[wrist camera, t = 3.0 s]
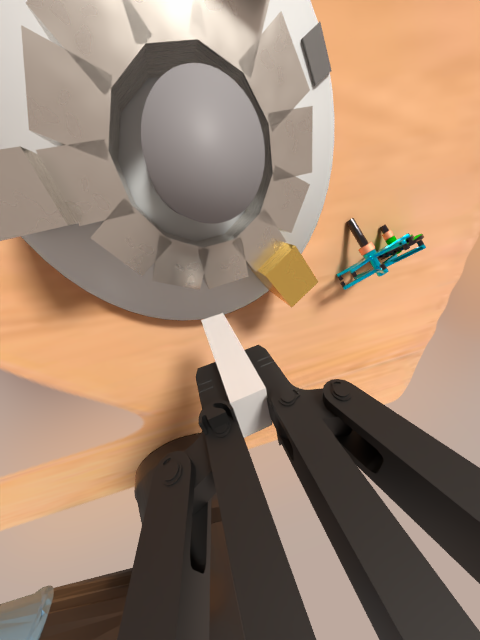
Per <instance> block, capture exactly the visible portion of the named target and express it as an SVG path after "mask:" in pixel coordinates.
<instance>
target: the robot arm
mask: <svg viewBox="0 0 480 640" xmlns="http://www.w3.org/2000/svg"><path fill="white" fill-rule="evenodd" d="M201 321H202V324H203V327H204V330H205V333H206V336H207V339H208V341H209V344H210V347H211V350H212V353H213V356H214V359H215V361H216V362H214V363H211V364H209V365H206V366H204V367H201V368H198V370H197V374H196V381H197V386H198V391H199V396H200V401H201V405H202V411H201V413H200V416H199V425H200V427H201V429H202V433H201V434H196V435H190V436H186V437H182V438H179V439H177V440H174V441H172V442H169V443H167V444H165V445H163V446H161V447H160V448H158V449H157V450H155V451H154V452H152V453H151V454H150V455H149V456H148V457H146V458H145V459H144V461H143V462H142V463H141V464H140V466H139V467H138V469H137V472H136V479H135V498H136V500H137V502H138V507H139V512H140V517H141V522H142V529H141V533H140V538H139V543H138V547H137V551H136V556H135V560H134V565H133V568H130V569H126V570H123V571H119V572H115V573H111V574H107V575H103V576H99V577H95V578H91V579H87V580H83V581H80V582H76V583H72V584H68V585H64V586H60V587H56V588H53V587H52V586H46V587H43V588H42V589H40V590H38V591H37V592H36V593H35V594H32V595H28V596H25V597H22V598H19V599H16V600H12V601H9V602H6V603H3V604H0V640H316V638H315V635H314V632H313V629H312V626H311V624H310V621H309V618H308V616H307V613H306V610H305V607H304V604H303V601H302V599H301V596H300V593H299V590H298V588H297V585H296V582H295V579H294V576H293V574H292V571H291V568H290V565H289V563H288V560H287V557H286V554H285V551H284V549H283V546H282V543H281V540H280V537H279V535H278V532H277V529H276V526H275V524H274V521H273V518H272V515H271V512H270V510H269V507H268V504H267V501H266V498H265V496H264V493H263V490H262V488H261V484H260V482H259V479H258V476H257V473H256V471H255V468H254V465H253V462H252V459H251V457H250V454H249V451H248V448H247V446H246V443H245V440H244V438H245V437H247V436H249V435H251V434H253V433H255V432H257V431H260V430H262V429H264V428H266V427H268V426H270V425H272V422H273V424H274V426H275V428H276V431H277V437H278V441H279V445H281V444H282V446H283V448H284V450H285V451H286V454H287V456H288V457H289V460H290V462H291V464H292V466H293V467H294V470H295V471H296V474H297V476H298V478H299V479H300V481H301V484H302V485H303V487H304V489H305V492H306V494H307V496H308V498H309V500H310V502H311V504H312V506H313V508H314V510H315V512H316V514H317V516H318V518H319V520H320V522H321V523H322V526H323V528H324V530H325V532H326V534H327V536H328V538H329V539H330V542H331V544H332V546H333V547H334V549H335V551H336V554H337V556H338V558H339V559H340V562H341V564H342V566H343V568H344V569H345V572H346V574H347V576H348V578H349V580H350V582H351V584H352V585H353V588H354V589H355V592H356V593H357V595H358V598H359V600H360V601H361V604H362V605H363V608H364V610H365V611H366V614H367V616H368V618H369V619H370V621H371V623H372V626H373V627H374V630H375V631H376V634H377V635H378V638H379V640H480V632H479V630H478V629H477V627H476V626H475V625H474V623H473V622H472V621H471V619H470V618H469V617H468V615H467V614H466V613H465V611H464V610H463V609H462V607H461V606H460V604H459V603H458V602H457V600H456V599H455V598H454V596H453V595H452V594H451V593H450V591H449V590H448V588H447V587H446V586H445V584H444V583H443V582H442V580H441V579H440V578H439V576H438V575H437V574H436V572H435V571H434V569H433V568H432V567H431V565H430V564H429V563H428V561H427V560H426V559H425V557H424V556H423V555H422V553H421V552H420V551H419V549H418V548H417V547H416V545H415V544H414V543H413V541H412V540H411V539H410V537H409V536H408V534H407V533H406V532H405V530H404V529H403V528H402V526H401V525H400V524H399V522H398V521H397V520H396V518H395V517H394V516H393V514H392V513H391V512H390V510H389V509H388V507H387V506H386V505H385V503H384V502H383V501H382V499H381V498H380V497H379V495H378V494H377V493H376V491H375V490H374V489H373V487H372V486H371V485H370V483H369V482H368V481H367V479H366V478H365V476H364V475H363V474H362V473H361V471H360V470H359V468H360V469H361V470H362V471H363V472H364V473H365V474H366V475H367V476H368V477H369V478H370V479H371V480H372V481H373V482H374V483H375V484H376V485H378V486H379V487H380V488H381V489H382V490H383V491H384V492H385V493H386V494H387V495H388V496H389V497H390V498H391V499H392V500H393V501H394V502H395V503H396V504H397V505H398V506H399V507H400V508H402V509H403V511H405V512H406V513H407V514H408V515H409V516H410V517H411V518H412V519H413V520H414V521H415V522H416V523H417V524H418V525H419V526H420V527H421V528H422V529H423V530H425V532H426V533H427V534H428V535H430V536H431V537H432V538H433V539H434V540H435V541H436V542H437V543H438V544H439V545H440V546H441V547H442V548H443V549H444V550H445V551H446V552H447V553H448V554H449V555H450V556H451V557H452V558H453V559H454V560H456V561H457V562H458V563H459V564H460V565H461V566H462V567H463V568H464V569H465V570H466V571H467V572H468V573H469V574H470V575H471V576H472V577H473V578H474V579H475V580H476V581H477V582H479V584H480V468H479V467H477V466H476V465H474V464H473V463H471V462H470V461H468V460H467V459H465V458H464V457H462V456H461V455H459V454H457V453H456V452H455V451H453V450H452V449H450V448H449V447H447V446H445V445H444V444H442V443H441V442H439V441H438V440H436V439H435V438H433V437H432V436H430V435H429V434H427V433H426V432H424V431H423V430H421V429H419V428H418V427H417V426H415V425H414V424H412V423H411V422H409V421H408V420H406V419H405V418H403V417H402V416H400V415H398V414H397V413H395V412H394V411H392V410H391V409H389V408H388V407H386V406H385V405H383V404H382V403H380V402H379V401H377V400H376V399H374V398H373V397H371V396H370V395H368V394H367V393H365V392H364V391H362V390H361V389H359V388H357V387H356V386H354V385H353V384H351V383H349V382H347V381H345V380H340V379H334V380H330V381H328V382H327V383H326V384H325V385H324V388H323V389H313V390H303V389H299V388H297V387H295V386H293V385H292V384H291V383H290V382H289V381H288V380H287V378H286V377H285V375H284V374H283V373H282V371H281V370H280V368H279V367H278V366H277V364H276V363H275V362H274V360H273V359H272V357H271V356H270V354H269V353H268V352H267V350H266V349H265V348H263V347H261V346H259V345H257V346H254V347H251V348H249V349H246V350H244V349H243V347H242V345H241V344H240V342H239V340H238V338H237V337H236V335H235V333H234V331H233V329H232V328H231V326H230V324H229V322H228V321H227V319H226V317H225V315H224V314H223V313H221V314H218V315H215V316H212V317H209V318H206V319H203V320H201ZM356 465H357V466H358V467H359V468H358V467H357V466H356Z"/></svg>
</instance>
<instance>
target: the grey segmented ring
mask: <svg viewBox="0 0 480 640" xmlns="http://www.w3.org/2000/svg"><path fill="white" fill-rule="evenodd" d="M269 1H270V0H27V2H26V4H27V6H28V8H29V9H30V11H31V12H32V14H33V15H34V17H35V18H36V20H37V21H38V23H39V24H40V26H41V27H42V29H43V31H44V32H45V34H46V35H47V37H48V38H49V40H50V41H49V40H48V39H46V38H44V37H42V36H40V35H38V34H37V33H35V32H33V31H31V30H29V29H28V28H26V27H24V26H22V25H21V31H22V45H23V58H24V71H25V84H26V98H27V111H28V124H29V130H30V131H31V132H33V133H35V134H37V135H38V136H40V137H42V138H43V139H45V140H47V141H49V142H50V143H52V144H54V145H55V146H57V147H51V148H45V149H38V150H36V152H37V153H38V154H37V153H34V152H32V151H30V150H27V149H25V148H23V147H20V146H19V147H13V148H6V149H0V241H2V240H7V239H11V238H15V237H20V236H24V235H29V234H33V233H37V232H42V231H46V230H51V229H55V228H59V227H64V226H68V225H72V224H77V223H78V224H79V226H82V225H87V224H91V223H95V222H100V221H104V220H105V221H104V222H103V223H102V224H101V226H100V227H99V228H98V229H97V230H96V232H95V233H94V234H93V235H92V236H91V239H92V240H94V241H95V242H96V243H98V244H99V245H100V246H102V247H103V248H104V249H106V250H107V251H108V252H110V253H111V254H112V255H114V256H115V257H117V258H118V259H119V260H121V261H122V262H123V263H125V264H126V265H127V266H129V267H130V268H131V269H133V270H134V271H135V272H137V273H138V274H139V275H141V276H143V275H144V273H145V272H146V271H147V270H148V269H149V268H150V267H151V266H152V265H153V263H154V268H153V280H152V281H156V282H161V283H166V284H171V285H177V286H182V287H187V288H193V289H198V290H200V287H201V283H202V279H203V280H204V282H205V284H206V285H207V287H208V288H209V289H211V288H215V287H218V286H221V285H224V284H227V283H230V282H233V281H236V280H239V279H243V278H246V277H249V276H248V270H247V266H248V267H249V268H250V269H251V270H252V272H253V273H254V274H255V275H256V276H257V277H258V279H259V280H260V281H261V282H262V283H263V284H264V285H265V287H266V288H267V289H268V290H269V291H271V292H272V293H273V294H275V295H276V296H277V297H279V298H280V299H281V300H283V301H284V302H285V303H286V304H288V305H289V306H290V307H293V306H294V305H295V304H296V303H297V302H298V301H299V300H300V299H301V298H302V297H303V296H304V295H305V294H306V293H307V292H308V291H309V290H310V289H311V288H313V287H314V286H315V285H316V284H317V283H318V281H317V279H316V277H315V276H314V274H313V273H312V271H311V269H310V268H309V266H308V265H307V263H306V261H305V260H304V258H303V257H302V255H301V253H300V252H299V250H298V249H297V247H296V246H295V245H291V244H288V243H285V242H286V240H285V238H284V237H283V235H282V234H281V232H280V231H285V232H289V233H292V230H293V228H294V225H295V223H296V220H297V217H298V215H299V212H300V209H301V207H302V204H303V202H304V199H305V196H306V194H307V191H308V188H309V186H310V184H308V183H306V182H305V181H303V180H301V179H299V178H297V177H296V176H299V175H303V174H308V173H312V128H313V106H308V107H302V108H296V109H294V107H295V106H296V105H297V104H298V103H299V102H300V101H301V100H302V99H303V97H304V96H305V95H306V94H307V93H308V92H309V91H310V89H309V86H308V83H307V80H306V78H305V75H304V72H303V69H302V67H301V64H300V61H299V58H298V55H297V53H296V50H295V47H294V44H293V42H292V39H291V36H290V33H289V31H288V28H287V25H286V22H285V20H284V17H283V14H282V11H281V12H280V13H279V14H278V15H277V16H276V18H275V19H274V20H273V21H272V22H271V23H270V25H269V26H268V27H267V28H266V29H265V31H264V32H263V33H262V30H263V26H264V22H265V18H266V14H267V10H268V6H269ZM187 63H201V64H206V65H210V66H212V67H215V68H217V69H219V70H221V71H222V72H224V73H226V74H227V75H228V76H229V77H231V78H232V79H233V80H234V81H235V82H236V83H237V84H238V85H239V86H240V87H241V88H242V90H243V91H244V92H245V94H246V95H247V96H248V98H249V100H250V101H251V103H252V105H253V107H254V109H255V111H256V113H257V116H258V119H259V122H260V125H261V129H262V133H263V138H264V146H265V164H264V171H263V176H262V180H261V183H260V186H259V189H258V191H257V193H256V195H255V197H254V199H253V200H252V202H251V203H250V204H249V206H248V207H247V208H246V210H245V212H244V214H243V215H242V216H241V217H240V218H239V219H238V220H237V221H236V222H235V223H234V224H233V225H232V226H231V227H230V229H229V230H228V231H227V232H226V233H225V234H222V235H219V236H215V237H211V238H208V239H204V240H200V241H193V240H190V239H186V238H183V237H179V236H176V235H173V234H169V233H166V232H164V231H163V230H162V229H161V228H160V227H159V226H158V225H157V224H156V223H155V222H154V221H153V220H151V219H150V218H149V217H148V216H147V215H146V214H145V213H144V212H143V211H142V210H141V209H140V208H139V207H138V206H137V205H136V204H135V201H134V199H133V196H132V194H131V192H130V189H129V187H128V184H127V182H126V180H125V177H124V175H123V172H122V170H121V167H120V165H119V163H118V152H119V136H120V120H121V112H122V111H123V109H124V108H125V107H126V106H127V104H128V103H129V102H130V100H131V99H132V98H133V97H134V95H135V94H136V93H137V92H138V90H139V89H140V88H141V87H142V85H143V84H144V83H145V82H146V80H147V79H148V78H153V77H161V76H162V75H163V74H164V73H166V72H167V71H169V70H170V69H172V68H174V67H176V66H179V65H182V64H187ZM279 230H280V231H279Z"/></svg>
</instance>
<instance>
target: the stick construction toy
mask: <svg viewBox="0 0 480 640" xmlns="http://www.w3.org/2000/svg"><path fill="white" fill-rule="evenodd" d="M346 223H347V225H348V227H349V228H350V230H351V232H352V233H353V235H354V237H355V238H356V240H357V242H358V243H359V245H360V247H361V248H360V249H359V252H360V253H361V255H363V257H364V258H365V259H363V260H361V261H359V262H358V263H356V264H354V265H352V266H350V267H349V268H347V269H345V270H343V271H341V272H339V273H338V274H337V276H338V278H339V280H340V281H341V280H343V278H342V276H341V275H343V274H345V273H347V272H348V271H350V273H351V274H352V276H353V278H354V279H355V280H354V281H352V282H350V283H349V284H347V285H345V283H344V281H343V282H341V283H340V284H341V285H342V287H343V289H344V290H346V289H347V288H349V287H351V286H353V285H355V284H356V283H358V282H360V281H362V280H363V279H365V278H367V277H369V276H371V275H372V274H374V273H377V275H378V276H382V275H384V274H385V273H387V272H388V269H387V268H386V267H388V266H390V265H392V264H394V263H396V262H398V261H400V260H402V259H404V258H406V257H408V256H410V255H412V254H414V253H416V252H418V251H421V250H423V249H425V248H426V246H425V245H424V243H423V241H422V240H421V239H423V238H424V236H423V234H420V235H417V236H415V237H414V236H413V235H410V234H409V233H408V234H406V235H404V236H403V237H401V238H399V239H398V240H397V239H396V238H395V236H394V234H393V233H392V231H391V230H389V229H388V228H387V226H386V225H384V226H382V227H380V229H381V231H382V233H383V235H382V236H383V238H384V239H385V241H386V243H387V244H388V245H387V246H386V247H384V248H382V249H381V250H379V251H376V250H375V246H374V245H373V243H372V242H370V243H368V242H367V240H366V238H365V237H364V235H363V233H362V231H361V230H360V228H359V226H358V225H357V223H356V221H355V220H354V218H352V219H350V220H349V221H347V222H346ZM415 243H417V244H418V246H419V247H417V248H415V249H413V250H411V251H409V252H407V253H404V254H402V255H400V256H398V257H397V254H398V253H400V252H401V251H402V250H407V249H409V248H410V246H411V245H413V244H415ZM391 255H392V256H391ZM389 256H391V257H390V258H388V259H387V260H386V261H384V262H383V263H380V262H379V260H378V259H379V258H380V259H381V260H382V259H385V258H387V257H389ZM368 262H370V263H371V265H372V267H373V269H370V270H368V271H365V272H363V273H360V274H358V275H357V274H356V272H355V271H356V270H357V269H359V268H360V267H362V266H363V265H365V264H366V263H368Z"/></svg>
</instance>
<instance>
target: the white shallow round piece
mask: <svg viewBox="0 0 480 640" xmlns="http://www.w3.org/2000/svg"><path fill="white" fill-rule="evenodd" d="M26 2H27V0H0V149H6V148H13V147H19V146H20V147H23V148H25V149H27V150H30V151H32V152H34V153H37V152H36V150H38V149H45V148H51V147H57V146H55V145H54V144H52V143H50V142H49V141H47V140H45V139H43V138H42V137H40V136H38V135H37V134H35V133H33V132H31V131H30V130H29V124H28V111H27V98H26V84H25V71H24V58H23V45H22V31H21V25H22V26H24V27H26V28H28V29H29V30H31V31H33V32H35V33H37V34H38V35H40V36H42V37H44V38H46V39H48V40H49V38H48V37H47V35H46V34H45V32H44V31H43V29H42V27H41V26H40V24H39V23H38V21H37V20H36V18H35V17H34V15H33V14H32V12H31V11H30V9H29V8H28V6H27V4H26ZM281 11H282V14H283V17H284V20H285V22H286V25H287V28H288V31H289V33H290V36H291V39H292V42H293V44H294V47H295V50H296V53H297V55H298V58H299V61H300V64H301V67H302V69H303V72H304V75H305V78H306V80H307V83H308V86H309V89H310V91H309V92H308V93H307V94H306V95H305V96H304V97H303V99H302V100H301V101H300V102H299V103H298V104H297V105H296V106H295V107H294V109H296V108H302V107H308V106H313V128H312V173H308V174H303V175H299V176H296V177H297V178H299V179H301V180H303V181H305V182H306V183H308V184H310V186H309V188H308V191H307V194H306V196H305V199H304V202H303V204H302V207H301V209H300V212H299V215H298V217H297V220H296V223H295V225H294V228H293V230H292V233H289V232H285V231H280V230H279V231H280V232H281V234H282V235H283V237H284V238H285V240H286V242H285V243H288V244H291V245H295V246H296V247H297V249H298V250H299V252H300V253H301V254H302V252H303V250H304V248H305V247H306V245H307V243H308V242H309V240H310V238H311V235H312V233H313V231H314V229H315V227H316V225H317V222H318V219H319V216H320V214H321V211H322V208H323V205H324V201H325V197H326V194H327V190H328V185H329V180H330V174H331V169H332V160H333V149H334V106H333V92H332V84H331V78H330V72H331V67H330V62H329V58H328V54H327V49H326V45H325V41H324V36H323V32H322V28H321V23H320V22H319V23H318V21H317V18H316V15H315V12H314V9H313V7H312V4H311V1H310V0H270V1H269V6H268V10H267V14H266V18H265V22H264V26H263V30H262V33H263V32H264V31H265V29H266V28H267V27H268V26H269V25H270V23H271V22H272V21H273V20H274V19H275V18H276V16H277V15H278V14H279V13H280V12H281ZM49 41H50V40H49ZM37 154H38V153H37ZM118 163H119V165H120V167H121V170H122V172H123V175H124V177H125V180H126V182H127V184H128V187H129V189H130V192H131V194H132V196H133V199H134V201H135V204H136V205H137V206H138V207H139V208H140V209H141V210H142V211H143V212H144V213H145V214H146V215H147V216H148V217H149V218H150V219H151V220H153V221H154V222H155V223H156V224H157V225H158V226H159V227H160V228H161V229H162V230H163V231H164V232H166V233H169V234H173V235H176V236H179V237H183V238H186V239H190V240H193V241H200V240H204V239H208V238H211V237H215V236H219V235H222V234H225V233H226V232H227V231H228V230H229V229H230V227H231V226H232V225H233V224H234V223H235V222H236V221H237V220H238V219H239V218H240V217H241V216H242V215H243V214H244V212H245V210H246V208H247V207H248V206H249V204H250V203H251V202H252V200H253V199H254V197H255V195H256V193H257V191H258V189H259V186H260V183H261V180H262V176H263V171H264V164H265V146H264V138H263V133H262V129H261V125H260V122H259V119H258V116H257V113H256V111H255V109H254V107H253V105H252V103H251V101H250V100H249V98H248V96H247V95H246V94H245V92H244V91H243V90H242V88H241V87H240V86H239V85H238V84H237V83H236V82H235V81H234V80H233V79H232V78H231V77H229V76H228V75H227V74H226V73H224V72H222V71H221V70H219V69H217V68H215V67H212V66H210V65H206V64H201V63H187V64H182V65H179V66H176V67H174V68H172V69H170V70H169V71H167V72H166V73H164V74H163V75H162V76H161V77H153V78H148V79H147V80H146V82H145V83H144V84H143V85H142V87H141V88H140V89H139V90H138V92H137V93H136V94H135V95H134V97H133V98H132V99H131V100H130V102H129V103H128V104H127V106H126V107H125V108H124V109H123V111H122V112H121V120H120V136H119V152H118ZM104 221H105V220H104ZM104 221H100V222H95V223H91V224H87V225H82V226H79V224H78V223H77V224H72V225H68V226H64V227H59V228H55V229H51V230H46V231H42V232H37V233H33V234H29V235H24V236H21V237H22V238H23V239H24V240H25V241H26V242H27V243H28V244H29V245H30V246H31V247H32V248H33V249H34V250H35V251H36V252H37V253H38V254H39V255H40V256H41V257H42V258H43V259H44V260H45V261H46V262H48V263H49V264H50V265H51V266H53V267H54V268H55V269H56V270H57V271H59V272H60V273H61V274H62V275H64V276H65V277H66V278H68V279H69V280H71V281H72V282H74V283H75V284H77V285H78V286H80V287H81V288H83V289H84V290H86V291H87V292H89V293H91V294H93V295H95V296H97V297H98V298H100V299H102V300H104V301H106V302H108V303H110V304H113V305H115V306H118V307H120V308H123V309H125V310H128V311H131V312H134V313H138V314H141V315H145V316H149V317H155V318H161V319H168V320H200V319H206V318H209V317H212V316H215V315H218V314H221V313H223V314H227V313H230V312H232V311H235V310H237V309H240V308H242V307H244V306H246V305H248V304H249V303H251V302H253V301H255V300H257V299H258V298H259V297H261V296H262V295H264V294H265V293H266V292H268V291H269V290H268V289H267V288H266V287H265V285H264V284H263V283H262V282H261V281H260V280H259V279H258V277H257V276H256V275H255V274H254V273H253V272H252V270H251V269H250V268H249V267H248V266H247V270H248V276H249V277H246V278H243V279H239V280H236V281H233V282H230V283H227V284H224V285H221V286H218V287H215V288H211V289H209V288H208V287H207V285H206V284H205V282H204V280H203V279H202V283H201V287H200V290H198V289H193V288H187V287H182V286H177V285H171V284H166V283H161V282H156V281H152V280H153V268H154V263H153V265H152V266H151V267H150V268H149V269H148V270H147V271H146V272H145V273H144V275H143V276H141V275H139V274H138V273H137V272H135V271H134V270H133V269H131V268H130V267H129V266H127V265H126V264H125V263H123V262H122V261H121V260H119V259H118V258H117V257H115V256H114V255H112V254H111V253H110V252H108V251H107V250H106V249H104V248H103V247H102V246H100V245H99V244H98V243H96V242H95V241H94V240H92V239H91V236H92V235H93V234H94V233H95V232H96V230H97V229H98V228H99V227H100V226H101V224H102V223H103V222H104Z"/></svg>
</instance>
